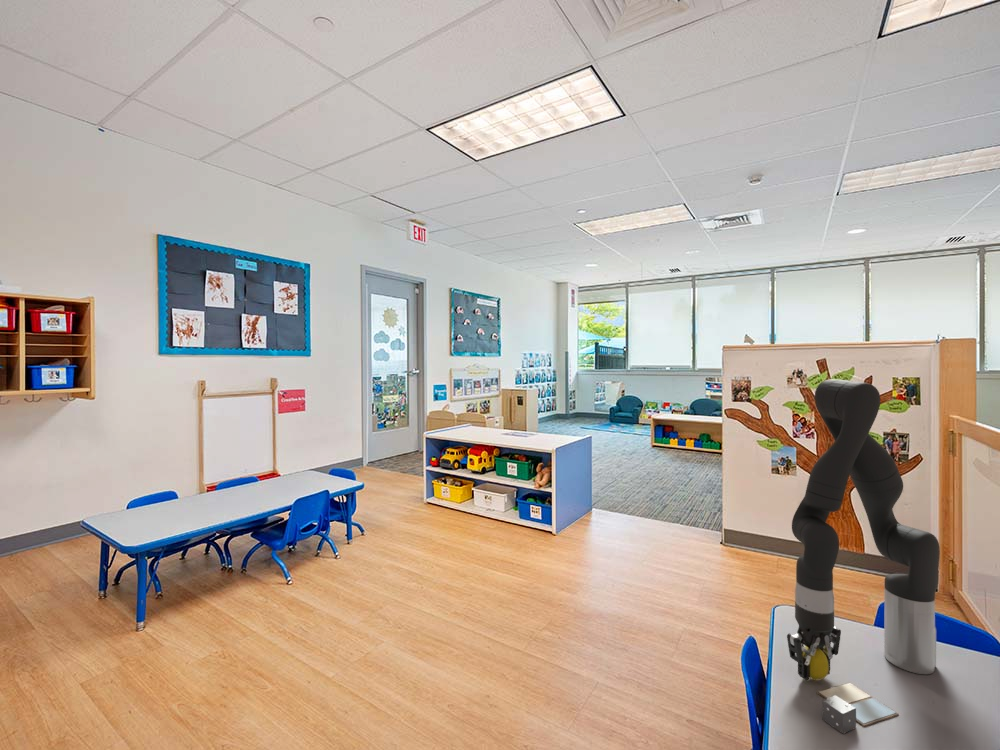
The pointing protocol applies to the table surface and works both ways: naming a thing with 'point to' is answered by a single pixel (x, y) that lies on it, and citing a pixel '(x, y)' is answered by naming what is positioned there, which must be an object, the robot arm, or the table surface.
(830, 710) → the die
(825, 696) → the board
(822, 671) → the lemon
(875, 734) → the table surface
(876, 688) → the table surface
